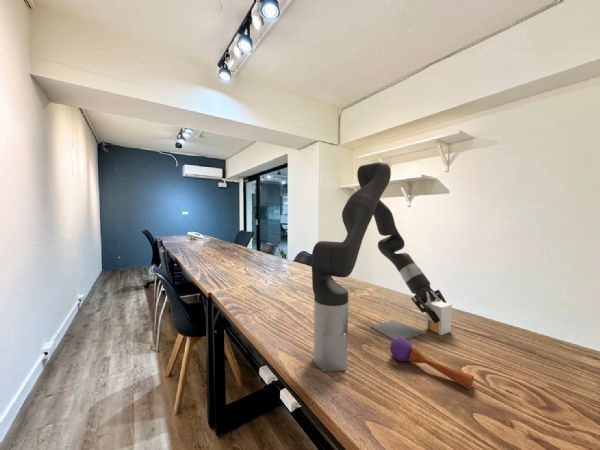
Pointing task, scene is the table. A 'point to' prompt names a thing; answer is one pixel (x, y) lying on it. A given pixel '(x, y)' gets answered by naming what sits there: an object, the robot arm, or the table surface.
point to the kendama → (427, 362)
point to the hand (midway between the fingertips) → (443, 320)
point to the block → (434, 326)
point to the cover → (441, 316)
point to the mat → (396, 330)
